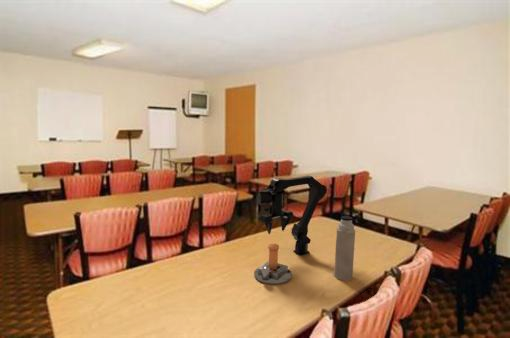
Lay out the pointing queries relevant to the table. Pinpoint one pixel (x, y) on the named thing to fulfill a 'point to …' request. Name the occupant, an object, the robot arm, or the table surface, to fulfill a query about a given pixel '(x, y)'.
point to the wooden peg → (273, 256)
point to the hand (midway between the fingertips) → (276, 232)
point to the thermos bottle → (344, 249)
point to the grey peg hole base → (273, 274)
